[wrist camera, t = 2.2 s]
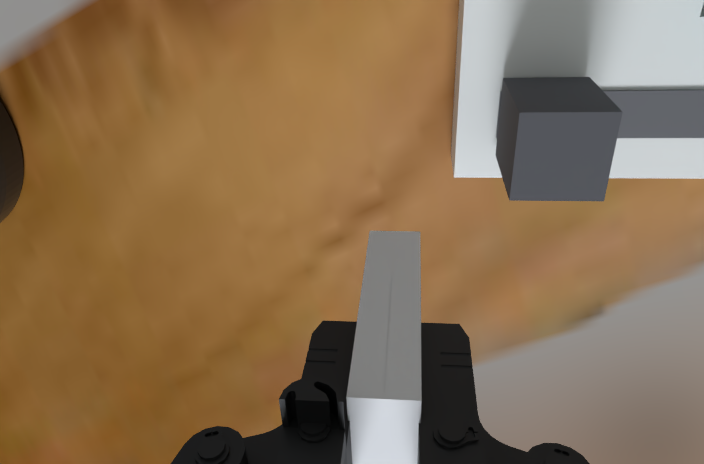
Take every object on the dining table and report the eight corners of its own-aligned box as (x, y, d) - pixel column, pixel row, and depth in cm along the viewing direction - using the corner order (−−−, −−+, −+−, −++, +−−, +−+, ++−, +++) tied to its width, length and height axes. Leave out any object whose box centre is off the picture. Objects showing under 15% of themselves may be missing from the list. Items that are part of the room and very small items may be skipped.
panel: (450, 155, 33) (455, 185, 30) (466, -128, 26) (474, -131, 23) (858, 155, 31) (913, 188, 28) (996, -153, 24) (1093, -160, 21)
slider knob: (495, 155, 29) (509, 200, 25) (502, 77, 27) (519, 112, 23) (575, 155, 29) (603, 201, 25) (589, 76, 27) (622, 112, 23)
